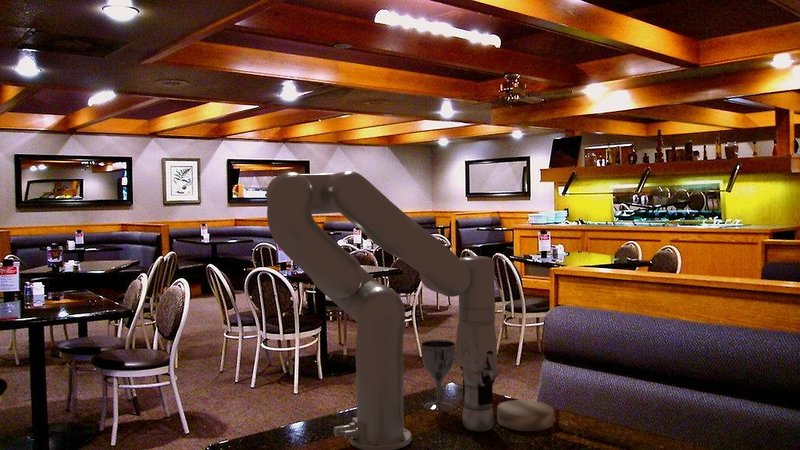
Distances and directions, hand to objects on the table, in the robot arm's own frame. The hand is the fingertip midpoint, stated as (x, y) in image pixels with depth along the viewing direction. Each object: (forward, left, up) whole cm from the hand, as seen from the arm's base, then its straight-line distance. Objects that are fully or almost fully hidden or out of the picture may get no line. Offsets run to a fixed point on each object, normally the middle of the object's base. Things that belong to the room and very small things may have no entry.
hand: (477, 399), depth 141 cm
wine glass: (0, +18, -7) cm, 19 cm away
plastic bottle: (0, 0, -7) cm, 7 cm away
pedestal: (+12, 0, -7) cm, 14 cm away
